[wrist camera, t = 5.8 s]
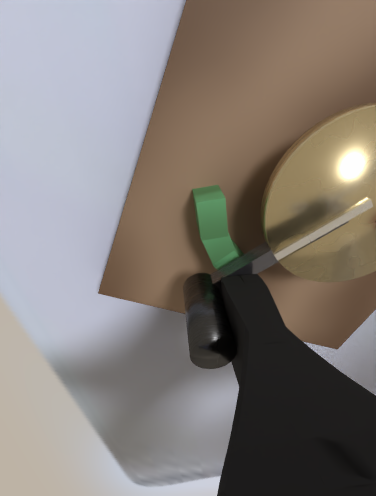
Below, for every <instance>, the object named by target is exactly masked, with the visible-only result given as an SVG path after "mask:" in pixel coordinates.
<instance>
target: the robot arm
mask: <svg viewBox="0 0 376 496" xmlns="http://www.w3.org/2000/svg"><path fill="white" fill-rule="evenodd" d="M221 296H222V299H223V303H224V307H225V310H226V314H227V317H228V320H229V323H230V327H231V330H232V334H233V337H234V341H235V344H236V348H237V354H236V356H235V358H234V359H233V360H232V365H233V368H234V371H235V374H236V377H237V381H238V384H239V393H238V399H237V405H236V410H235V415H234V420H233V425H232V431H231V436H230V440H229V445H228V449H227V453H226V458H225V462H224V466H223V470H222V474H221V479H220V483H219V489H218V494H217V496H376V396H375V395H374V394H372V393H371V392H369V391H368V390H366V389H365V388H364V387H362V386H361V385H359V384H358V383H356V382H355V381H353V380H352V379H350V378H349V377H347V376H346V375H344V374H343V373H342V372H340V371H339V370H338V369H336V368H335V367H334V366H332V365H331V364H330V363H328V362H327V361H326V360H324V359H323V358H322V357H321V356H319V355H318V354H317V353H316V352H314V351H313V350H312V349H311V348H309V347H308V346H307V345H306V344H305V343H304V342H302V341H301V340H300V339H299V338H298V337H297V336H296V335H294V334H293V333H292V332H291V331H290V330H289V329H288V328H287V327H286V326H285V324H284V321H283V319H282V317H281V315H280V313H279V310H278V308H277V306H276V304H275V301H274V299H273V297H272V295H271V293H270V291H269V289H268V287H267V285H266V284H265V282H264V281H263V280H262V278H261V277H260V276H259V275H258V274H249V275H240V276H229V277H221Z"/></svg>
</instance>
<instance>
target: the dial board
mask: <svg viewBox="0 0 376 496" xmlns="http://www.w3.org/2000/svg"><path fill="white" fill-rule="evenodd" d="M367 103H376V0H186V3H185V6H184V10H183V13H182V16H181V20H180V23H179V26H178V30H177V33H176V36H175V40H174V43H173V46H172V49H171V53H170V56H169V59H168V63H167V66H166V69H165V73H164V76H163V79H162V83H161V86H160V89H159V93H158V96H157V99H156V103H155V106H154V109H153V113H152V116H151V119H150V123H149V126H148V129H147V133H146V136H145V139H144V142H143V146H142V149H141V152H140V156H139V159H138V162H137V166H136V169H135V172H134V176H133V179H132V182H131V186H130V189H129V192H128V196H127V199H126V202H125V206H124V209H123V212H122V216H121V219H120V222H119V226H118V229H117V232H116V235H115V239H114V242H113V245H112V249H111V252H110V255H109V259H108V262H107V265H106V269H105V272H104V275H103V279H102V282H101V285H100V289H99V292H98V293H99V294H103V295H107V296H111V297H116V298H120V299H124V300H128V301H133V302H137V303H141V304H146V305H150V306H154V307H158V308H163V309H167V310H171V311H175V312H180V313H184V314H186V312H185V303H184V293H183V285H184V282H185V281H186V279H187V278H189V277H190V276H192V275H194V274H197V273H208V274H212V273H213V272H215V271H217V270H219V269H220V268H222V267H224V266H225V265H227V264H229V263H230V262H232V261H234V260H235V259H237V258H239V257H241V256H242V255H244V254H246V253H247V252H249V251H251V250H252V249H254V248H256V247H257V246H259V245H261V244H263V243H264V242H266V241H265V238H264V235H263V232H262V226H261V205H262V199H263V195H264V191H265V188H266V185H267V183H268V180H269V178H270V176H271V174H272V172H273V170H274V168H275V167H276V165H277V163H278V162H279V161H280V159H281V158H282V156H283V155H284V153H285V152H286V151H287V150H288V149H289V148H290V146H291V145H292V144H293V143H294V142H295V141H296V140H297V139H298V138H299V137H300V136H301V135H303V134H304V133H305V132H306V131H307V130H309V129H310V128H311V127H313V126H314V125H315V124H317V123H318V122H320V121H322V120H323V119H325V118H327V117H328V116H330V115H332V114H334V113H337V112H339V111H341V110H343V109H347V108H350V107H353V106H356V105H361V104H367ZM258 275H259V276H260V277H261V278H262V280H263V281H264V282H265V284H266V285H267V287H268V289H269V291H270V293H271V295H272V297H273V299H274V301H275V304H276V306H277V308H278V310H279V313H280V315H281V317H282V319H283V321H284V324H285V326H286V327H287V328H288V329H289V330H290V331H291V332H292V333H293V334H294V335H296V336H297V337H298V338H299V339H300V340H301V341H304V342H308V343H312V344H316V345H321V346H325V347H329V348H333V349H338V348H339V347H340V346H341V345H342V344H343V343H344V342H345V341H346V340H347V339H348V338H349V337H350V336H351V335H352V334H353V332H354V331H355V330H356V329H357V328H358V327H359V326H360V325H361V324H362V323H363V322H364V321H365V320H366V319H367V318H368V317H369V316H370V315H371V314H372V313H373V311H374V310H375V309H376V271H375V272H372V273H370V274H368V275H365V276H362V277H359V278H355V279H352V280H347V281H341V282H316V281H310V280H307V279H303V278H301V277H299V276H296V275H294V274H293V273H291V272H290V271H288V270H287V269H285V268H284V267H283V266H282V265H281V264H280V263H279V262H277V263H276V264H274V265H272V266H270V267H268V268H267V269H265V270H263V271H261V272H260V273H258Z"/></svg>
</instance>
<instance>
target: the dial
mask: <svg viewBox="0 0 376 496" xmlns="http://www.w3.org/2000/svg"><path fill="white" fill-rule="evenodd" d="M261 226H262V232H263V235H264V238H265V241H266V242H264V243H263V244H261V245H259V246H257V247H256V248H254V249H252V250H251V251H249V252H247V253H246V254H244V255H242V256H241V257H239V258H237V259H235V260H234V261H232V262H230V263H229V264H227V265H225V266H224V267H222V268H220V269H219V270H217V271H215V272H213V273H212V274H208V273H197V274H194V275H192V276H190V277H189V278H187V279H186V281H185V282H184V285H183V293H184V303H185V312H186V322H187V332H188V341H189V351H190V359H191V361H192V362H193V363H194V364H195V365H197V366H198V367H201V368H206V369H214V368H219V367H222V366H225V365H227V364H228V363H230V362H231V361H232V360H233V359H234V358H235V356H236V354H237V348H236V344H235V341H234V337H233V334H232V330H231V327H230V323H229V320H228V317H227V314H226V310H225V307H224V303H223V299H222V296H221V277H229V276H240V275H249V274H258V273H260V272H261V271H263V270H265V269H267V268H268V267H270V266H272V265H274V264H276V263H277V262H279V263H280V264H281V265H282V266H283V267H284V268H285V269H287V270H288V271H290V272H291V273H293V274H294V275H296V276H299V277H301V278H303V279H307V280H310V281H316V282H341V281H347V280H352V279H355V278H359V277H362V276H365V275H368V274H370V273H372V272H375V271H376V103H367V104H361V105H356V106H353V107H350V108H347V109H343V110H341V111H339V112H337V113H334V114H332V115H330V116H328V117H327V118H325V119H323V120H322V121H320V122H318V123H317V124H315V125H314V126H313V127H311V128H310V129H309V130H307V131H306V132H305V133H304V134H303V135H301V136H300V137H299V138H298V139H297V140H296V141H295V142H294V143H293V144H292V145H291V146H290V148H289V149H288V150H287V151H286V152H285V153H284V155H283V156H282V158H281V159H280V161H279V162H278V163H277V165H276V167H275V168H274V170H273V172H272V174H271V176H270V178H269V180H268V183H267V185H266V188H265V191H264V195H263V199H262V205H261Z"/></svg>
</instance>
